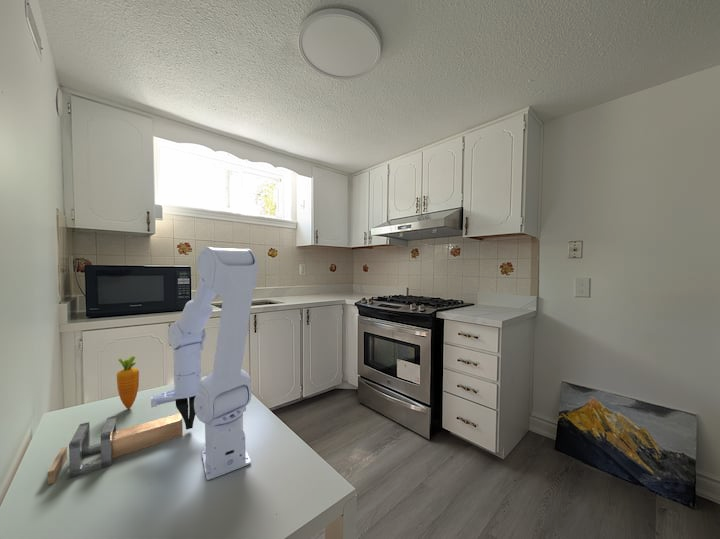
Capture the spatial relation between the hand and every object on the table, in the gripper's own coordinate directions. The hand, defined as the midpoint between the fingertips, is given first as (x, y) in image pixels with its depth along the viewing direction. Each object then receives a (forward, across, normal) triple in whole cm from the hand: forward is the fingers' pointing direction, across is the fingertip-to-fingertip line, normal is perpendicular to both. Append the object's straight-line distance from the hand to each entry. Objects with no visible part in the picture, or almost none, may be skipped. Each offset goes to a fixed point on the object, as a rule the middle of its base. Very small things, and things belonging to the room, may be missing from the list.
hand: (189, 426), depth 69 cm
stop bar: (+1, +22, 0) cm, 22 cm away
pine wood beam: (+2, +8, -1) cm, 9 cm away
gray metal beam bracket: (+1, +18, 0) cm, 18 cm away
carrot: (+1, +13, -23) cm, 27 cm away
